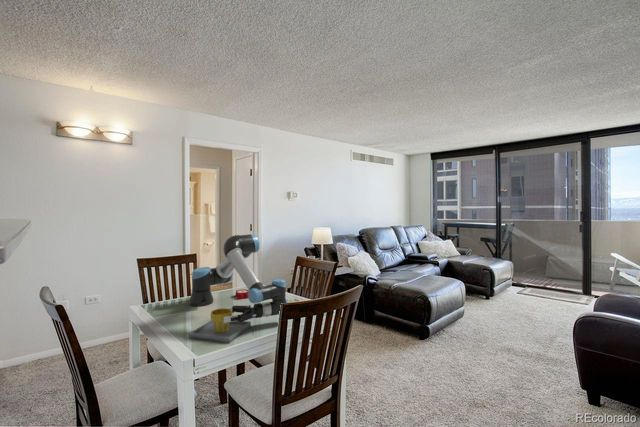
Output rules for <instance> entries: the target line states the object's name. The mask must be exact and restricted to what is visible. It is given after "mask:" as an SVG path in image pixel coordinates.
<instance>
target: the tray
mask: <svg viewBox="0 0 640 427" xmlns="http://www.w3.org/2000/svg"><path fill="white" fill-rule="evenodd" d="M251 324H252V323H251V321H249V320H246V321H243V322H239V321H233V322H229V327H228V330H227V331H225V332H220V333H219V332H215V330H214V325H213V321H212V320H211V319H210V320H209V321H208V322H206V323H203V325H201V326H199V327H197V328H195V329H194V330H193V331H191V332H189V339H191V338H194V339H195V340H199V339H200V340H201V341H208V342H214V343H215V342H216V343H217V342H218V343H223V344H224V343H226V344H231V343H232V342H233V341H234V340H235V339H237V338H238V337H239V336H240V335H242V334H243V333H245V331H247V330H248V329H249V328H251ZM194 339H193V340H194Z"/></svg>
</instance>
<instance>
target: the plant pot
mask: <svg viewBox="0 0 640 427" xmlns="http://www.w3.org/2000/svg"><path fill="white" fill-rule="evenodd" d="M227 308H228V307H225V308H224V307H223V308H217V309H213V310H212V311H211V312H210V321H211V320H212V321H213V325H214V330H215V332H219V333H220V332H225V331H227V330H228V327H229V322H226V323H224V317H227V316H233V315H232V314H233V313H232V311H231V310H230V309H227Z"/></svg>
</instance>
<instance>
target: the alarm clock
mask: <svg viewBox="0 0 640 427" xmlns="http://www.w3.org/2000/svg"><path fill="white" fill-rule="evenodd" d="M248 292H249V290H248V289H246V288H245V289H236V290H235V295H234V297H235V298H236V299H238V300H242V299H249V297H248Z"/></svg>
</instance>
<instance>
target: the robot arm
mask: <svg viewBox="0 0 640 427" xmlns="http://www.w3.org/2000/svg"><path fill="white" fill-rule="evenodd" d="M260 243H261V242H260V239H259V237H258V236H257V235H256V234H251V233H250V234H240V235H239V234H237V235H232V236H230V237H228V238H227V239H226V240H225V241H224V244H223V254H224V256H225V259H224V261H223V262H221V263H218V265H216V267H213V268H212V267H210V266H201V267H198V268H195V269H194V270H193V271H192V272H191V273H192V274H191V290H192V291H191V294H190V297H189V301H188V304H189V305H190V306H191V307H204V306H210V305H211V304H213V303H214V297H213V294H212V291H211V287H212V286H216V285H222V284H227V283H230V282H231V281H232V280H233V276H234V270H235V271H236V272H237V273H238V275H239V277H240V278H241V280H242V282H243V283H244V285H245V287H246V288H247V290H249V292H248V297H249V298H248V300H249V302H250V303H251V304H253V307H252V306H251V305H233V306H232V307H226V308H227V309H230V310H231V311H232V314H233V313H239V314H235V315H232V316H227V317H224V323H226V322H233V321H239V322H243V321H249V320H252V319H258V318H262V317H263V318H265V317H266V318H268V317H272V316H278V315H279V311H280V305H281V303H288V302H290V301H289V299H286V295H287V294H286V292H287V290H286V288H287V286H286V285H287V284H286V280H284V278H283V279H282V278H276V279H273V280H272V281H271V284H268V285H263V283H262V282H261V280H260V279H259V277H258V276H257V275H256V273H255V272H254V270H253V268H252V266H251V265H250V264H249V262H248V261H247V259H246V258H248V257H250V256H251V254H253V253H257V252H259V250H260V246H261V245H260ZM268 300H271V301H268ZM265 301H266V302H265ZM279 316H280V315H279Z"/></svg>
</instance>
